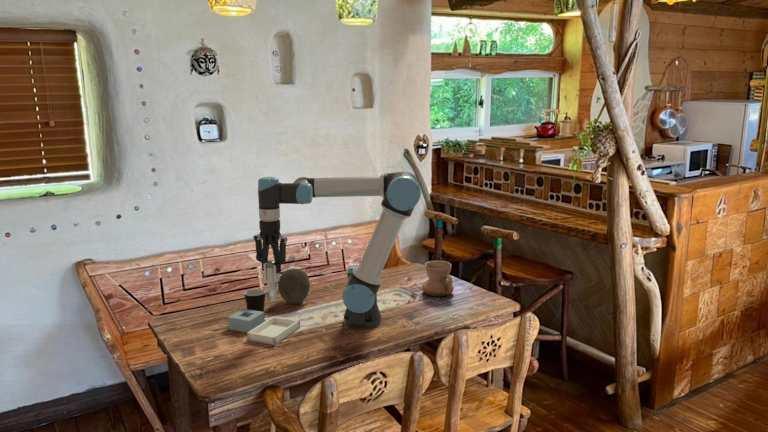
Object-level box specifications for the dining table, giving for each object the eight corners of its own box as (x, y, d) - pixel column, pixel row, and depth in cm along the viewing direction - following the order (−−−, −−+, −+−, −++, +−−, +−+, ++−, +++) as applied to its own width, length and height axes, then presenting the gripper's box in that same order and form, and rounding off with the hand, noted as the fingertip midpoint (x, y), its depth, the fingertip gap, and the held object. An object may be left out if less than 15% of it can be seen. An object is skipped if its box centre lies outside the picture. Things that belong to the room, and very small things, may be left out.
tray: (300, 327, 232) (299, 320, 231) (274, 345, 216) (274, 337, 215) (274, 323, 236) (273, 316, 236) (247, 340, 220) (246, 332, 220)
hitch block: (264, 323, 236) (264, 312, 235) (250, 333, 227) (249, 320, 226) (243, 320, 240) (243, 308, 239) (228, 329, 231) (227, 317, 230)
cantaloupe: (316, 303, 258) (315, 270, 255) (286, 310, 250) (285, 276, 247) (301, 295, 270) (300, 263, 267) (273, 301, 262) (271, 268, 259)
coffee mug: (261, 319, 240) (260, 296, 238) (241, 318, 242) (240, 295, 240) (272, 309, 251) (271, 287, 249) (253, 308, 253) (252, 286, 251)
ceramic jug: (414, 291, 275) (414, 261, 272) (439, 285, 282) (440, 257, 279) (436, 303, 260) (437, 272, 257) (463, 297, 267) (463, 267, 264)
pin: (279, 299, 224) (277, 260, 221) (274, 302, 221) (272, 263, 218) (271, 297, 226) (269, 259, 223) (265, 300, 222) (264, 262, 219)
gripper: (244, 219, 217) (247, 280, 221) (283, 223, 210) (285, 286, 215) (256, 215, 224) (258, 275, 228) (294, 219, 217) (296, 280, 222)
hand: (271, 280), depth 222 cm, fingers closed on pin, 4 cm apart
